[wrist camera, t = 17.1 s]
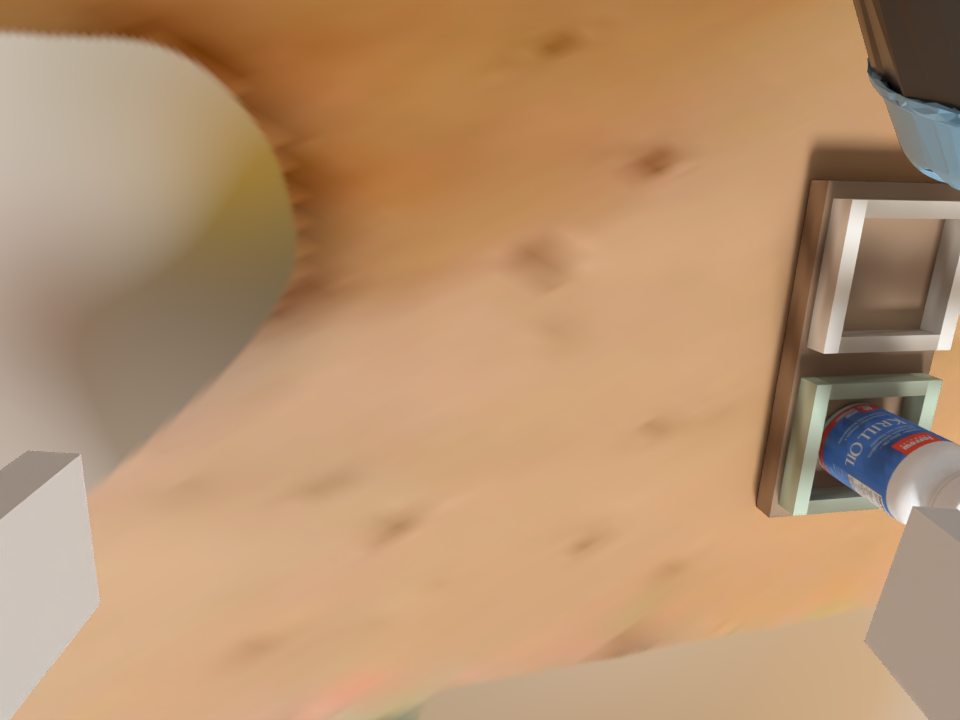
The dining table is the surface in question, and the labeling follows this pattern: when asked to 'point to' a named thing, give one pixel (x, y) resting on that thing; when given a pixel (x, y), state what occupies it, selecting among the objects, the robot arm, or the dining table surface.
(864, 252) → the board
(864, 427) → the pill bottle
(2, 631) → the robot arm
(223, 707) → the dining table surface
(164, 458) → the dining table surface
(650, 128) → the dining table surface
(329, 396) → the dining table surface
